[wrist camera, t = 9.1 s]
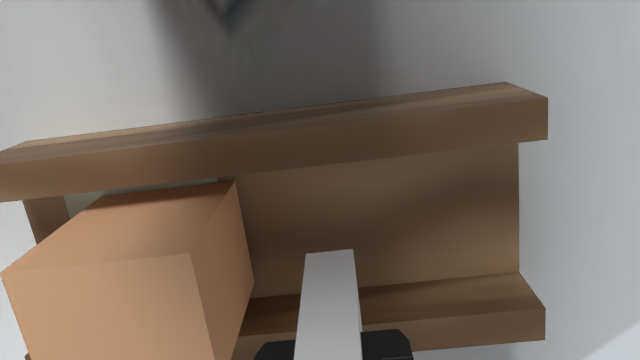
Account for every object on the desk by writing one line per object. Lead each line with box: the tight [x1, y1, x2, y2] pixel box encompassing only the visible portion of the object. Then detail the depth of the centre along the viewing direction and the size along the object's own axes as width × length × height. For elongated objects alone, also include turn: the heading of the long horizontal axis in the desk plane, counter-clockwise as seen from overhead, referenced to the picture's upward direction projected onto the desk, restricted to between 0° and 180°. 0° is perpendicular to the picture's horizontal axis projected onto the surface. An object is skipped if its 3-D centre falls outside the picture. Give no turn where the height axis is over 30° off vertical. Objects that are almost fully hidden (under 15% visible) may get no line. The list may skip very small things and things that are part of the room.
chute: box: [0, 82, 548, 360], centre depth 22 cm, size 10×22×4 cm, turn 97°
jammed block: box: [0, 180, 254, 360], centre depth 19 cm, size 5×6×7 cm
